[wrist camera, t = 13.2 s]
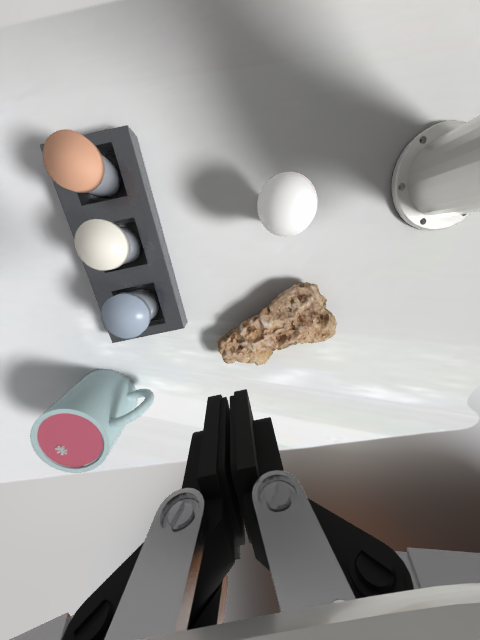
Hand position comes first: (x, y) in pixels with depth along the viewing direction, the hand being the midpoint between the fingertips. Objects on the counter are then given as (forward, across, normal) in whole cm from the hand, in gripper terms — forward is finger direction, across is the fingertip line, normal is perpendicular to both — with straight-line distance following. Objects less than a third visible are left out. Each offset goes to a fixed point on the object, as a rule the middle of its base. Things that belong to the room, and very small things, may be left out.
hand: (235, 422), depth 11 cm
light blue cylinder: (+26, +12, -2) cm, 28 cm away
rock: (+28, -6, +6) cm, 29 cm away
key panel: (+27, +12, -10) cm, 31 cm away
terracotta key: (+26, +12, -18) cm, 33 cm away
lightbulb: (+27, -8, -10) cm, 30 cm away
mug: (+27, +20, +11) cm, 36 cm away
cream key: (+26, +12, -10) cm, 30 cm away
